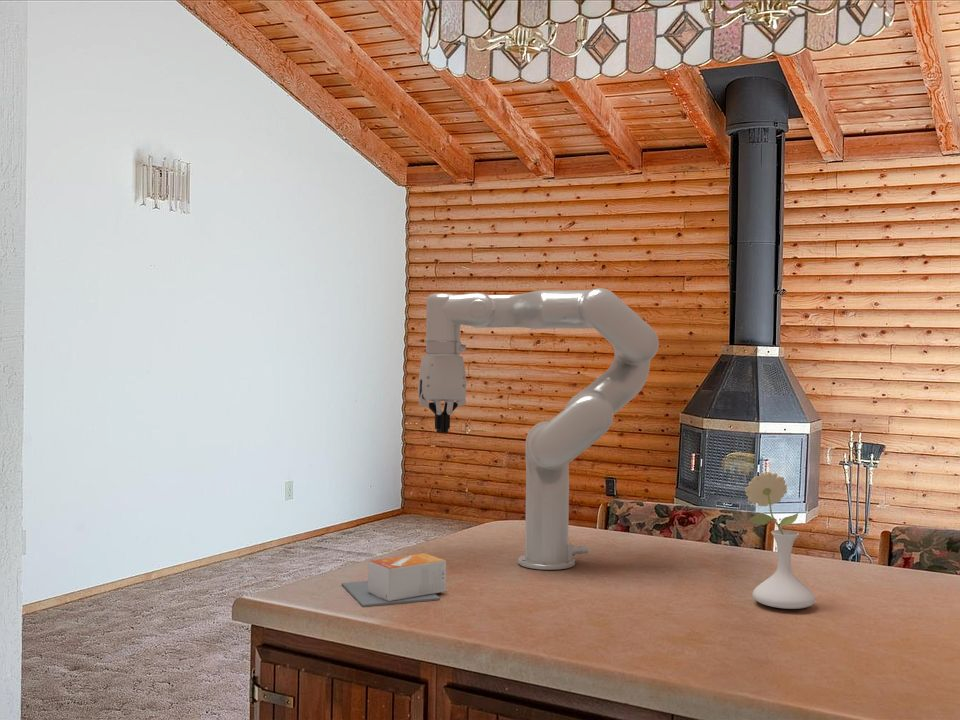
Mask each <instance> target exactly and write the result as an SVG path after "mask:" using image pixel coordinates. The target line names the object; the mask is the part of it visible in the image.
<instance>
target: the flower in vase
mask: <svg viewBox="0 0 960 720" xmlns="http://www.w3.org/2000/svg"><path fill="white" fill-rule="evenodd" d="M750 480H751V481H749V482H748V483H747V484H748V486H746V487H745V488H744V492H745V496H746V497H747V501H748V502H750V503H751V504H757V506H759V507H768V506H769V512H770V515H769V514H767V513H758V514H756V515H754V516H752V517H751V518H750V520H749V521H748V523H753V524H756V525H760V526H765V525H767V524H768V523H769V522H771V521H772V520H773V521H774V524H775V525H776V527H777V528H778V529H774V530H771V531H770V533H771V534H772V536H773V538H774V540H775V544H776V547H777V557H778V558H777V567H776V570H775V572H774V573H773V574H772V575H770V577H768V578H766V579H765V580H764V581H762V582H761V583H760V584H758V585H756V587H755V588H754V589H753V591H752V597H753V599H754V600H755V601H757V602H759V604H762V605H765V606H769V607H772V608H778V609H785V610H786V609H787V610H796V609H804V608H809V607H811V606H813V605H815V603H816V601H817V597H816V595H815V594H814V593H813V591H812V590H811V589H810V588H809V587H808V586H807V585H806V584H805V583H803V582H802V581H801V580H800V579H799V578H798V577H797V576H796V575H795V574H794V572H793V570H792V565H791V564H792V562H791V560H792V559H791V558H792V549H793V546H794V543H795V540H796V538H797V537H798V536H799V532H798V531H794V530H786V529H782V528H781V527H783V526H789V525H791V524H793V523H794V522H796V521H797V519H798V517H799V512H797V513H795V514H793V515H790V516H786V517H783V518H782V519H781V520H780V522H779V523H778V521H777V520H776V519H775V517H774V515H773V511H772V506H773V505H774V504H775V503H776V504H777V503H780V502H781V501H782V499H783V498H784V497H785V495H786V494H787V493H788V488H787V484H786V480H785V478H784V477H783V476H778V474H777V473H776V472H775V473H772V472H770V471H769V472H767V473H764V472H760V473H759V476H758V475H755V476H753V478H751V479H750Z"/></svg>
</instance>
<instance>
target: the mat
mask: <svg viewBox="0 0 960 720" xmlns="http://www.w3.org/2000/svg"><path fill="white" fill-rule="evenodd" d="M341 586H342V587H343V588H344V589H345V591H347V593H349V595H351V596H352V598H353V599H354V600H355V601H356V602H357V601H358V602H359V603H358V602H357V603H358V604H359V605H360V606H361V607H362V608H366V607H368V608H370V607H379V606H387V605H388V606H389V605H400V604H411V603H422V601H423V602H433V600H434V601H440V600H441V597H440V596H439V595H438V594H437V593H435V594H428V595H422V596H417V597H411V598H406V599H400V600H394V601H387V600H384V599H382V598H379V597H377V596H375V595H373V594H371V593H369V592H368V580H365V581H364V580H363V581H352V582H342V583H341Z"/></svg>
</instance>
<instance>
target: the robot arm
mask: <svg viewBox="0 0 960 720" xmlns="http://www.w3.org/2000/svg"><path fill="white" fill-rule="evenodd" d="M425 308H426V314H425V315H426V319H425V321H426V325H425V329H426V331H425V332H426V333H425V340H426V341H425V345H426V346H425V355H422V357H421V360H420V365H419V372H418V373H419V375H418V383H417V396H418V406H422V407H425V408H429V410H430V411H431V412H432V413H433V415H434V429H435V430H436V433H439V434H448V433H449V430H450V427H451V415H452V414H453V412H454V411H455V410H456V409H457V408H459V407H462V406H466V405H467V400H466V397H467V376H466V375H467V374H466V369H465V360H464V357H463V356H462V355H461V354H462V352H463V351H466V350H467V346H466V344H464V343H463V344H462V342H461V325H463V326H469V327H472V328H480V329H482V328H485V329H487V328H488V329H489V328H490V329H491V328H525V329H531V330H532V329H533V330H534V329H535V330H536V329H538V330H539V329H540V330H543V329H544V330H547V329H548V330H550V329H552V330H553V329H594V330H596V331H597V332H598V334H600V335H601V336H602V337H603V338H604V339H605V340H606V341H607V342H609V344H610V345H612V346H613V347H612V348H613V353H614V354H613V355H614V356H613V361H612V363H611V365H610V366H609V367H608V368H607V369H606V370H605V371H604V372H603V373H602V374H601V375H600V376H598V377H597V378H596V379H595V380H594V381H593V382H591V383H590V384H588V385H587V386H586V387H585V388H583V389H582V390H581V391H579V392H578V393H576V394H574V395H573V396H572V397H571V398H570V399H569V400H568V402H567V404H565V408H564V409H563V410H561V411H560V412H559V413H558V414H556V416H554V417H553V418H551V420H549V421H548V420H545V421H544V420H543V421H540V422H538V423H536V424H535V425H534V426H532V427H531V428H530V430H529V431H528V433H527V435H526V439H525V447H524V450H525V470H526V471H525V533H524V534H525V536H524V540H525V541H524V542H525V543H524V544H525V547H524V549H525V550H524V552H525V553H524V554H522V555H520V556H518V557H517V560H518V561H517V563H518V564H519V566H522V567H524V568H527V569H528V568H529V569H534V570H543V571H544V570H545V571H546V570H547V571H552V570H553V571H556V570H557V571H558V570H566V569H569V568H572V567H574V566H575V565H576V559H575V558H574V557H575V556H576V555H587V554H588V553H589V547H588V545H587V544H583V545H580V544H579V545H578V544H572V543H571V542H569V509H570V503H569V502H570V501H569V500H570V467H569V466H570V465H569V463H570V462H572V461H573V460H575V459H576V458H578V456H580V455H581V454H583V452H584V451H586V450H587V449H588V448H590V447H591V446H592V445H593V444H595V443H596V442H597V441H598V440H600V439H601V438H602V437H603V436H605V434H606V433H607V432H608V431H609V429H610V428H611V427H612V424H613V421H614V415H615V414H617V413H618V412H619V411H620V410H621V409H623V408H624V407H625V406H626V405H627V404H629V403H630V402H631V400H633V399H634V398H635V397H636V396H637V395H638V394H639V393H640V391H641V390H643V387H644V386H645V384H646V381H647V380H648V377H649V374H650V373H649V372H650V368H651V360H652V359H653V358H654V357H655V356H657V355H656V354H657V353H658V351H659V347H660V346H659V345H660V341H659V336H658V334H657V333H656V331H655V330H654V329H653V327H652V326H650V325H649V324H648V322H646V321H645V320H644V319H643V318H642V317H640V316H639V314H637V312H635V311H634V310H633V309H632V308H631V307H630V306H628V305H627V304H626V303H625V302H624V301H623V300H622V299H621V298H620V297H619V296H618V295H616V294H615V293H614V292H613V291H611V290H609V289H607V288H603V287H598V288H593V289H584V290H583V289H574V290H573V289H571V290H569V289H568V290H567V289H566V290H561V289H558V290H556V289H554V290H552V289H549V290H548V289H544V290H543V289H542V290H541V289H540V290H534V291H530V292H525V293H518V294H486V293H484V292H471V293H463V294H461V293H459V294H455V293H448V292H445V293H442V292H441V293H440V292H439V293H430V294H429V295H428V296H427V298H426V307H425ZM443 401H444V403H443V409H442V404H441V402H443Z"/></svg>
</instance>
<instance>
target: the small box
mask: <svg viewBox="0 0 960 720" xmlns="http://www.w3.org/2000/svg"><path fill="white" fill-rule="evenodd" d="M367 561H368V562H367V563H368V565H367V567H368V568H367V569H368V570H367V581H368V592H369V593H371V594H373V595H375V596H377V597H379V598H382V599H384V600H387V601H394V600H400V599H406V598H411V597H417V596H422V595H428V594H440V593H445V592H447V560H446V559H443V558H439V557H437V556H434V555H430V554H428V553H426V552H422V553H415V554H408V555H401V556H394V557H393V556H392V557H386V558H378V559H372V560H367Z"/></svg>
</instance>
